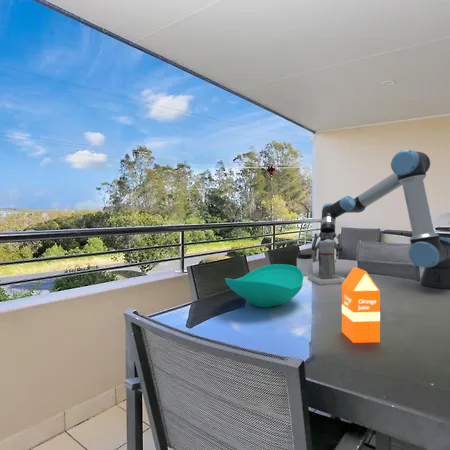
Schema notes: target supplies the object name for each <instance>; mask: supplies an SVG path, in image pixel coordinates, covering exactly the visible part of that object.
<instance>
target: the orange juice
mask: <svg viewBox="0 0 450 450" xmlns="http://www.w3.org/2000/svg"><path fill="white" fill-rule="evenodd" d="M380 298H381V291H380V289H379V288H378V287H377V284H375V282H374V281H373V279H372V278H371V277H370V275H369V273H368V272H367V271H366V270H364V269H361V268H359V267H357V266H353V267H352V269H351V270H350V272H349V273H348V275H347V277H346V278H345V281H344V282H343V284H341V332H342V334H343V335H345V336H346V338H348V339H349V340H350V341H351V342H352V343H354V344H355V343H380V342H381V337H380V336H381V331H380V330H381V299H380Z"/></svg>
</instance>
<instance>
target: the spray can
mask: <svg viewBox="0 0 450 450" xmlns="http://www.w3.org/2000/svg"><path fill="white" fill-rule="evenodd" d="M319 241H320V240H319ZM319 241H318V242H319ZM334 241H335V239H334V240H330V239H326V240H324V241H320V242H319V259H318V275H319V278H322V279H334V278H335V275H336V274H335V273H336V271H335V270H336V269H335V267H336V264H335V263H336V262H334V252H335V248H334Z"/></svg>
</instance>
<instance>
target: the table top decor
mask: <svg viewBox="0 0 450 450" xmlns="http://www.w3.org/2000/svg"><path fill="white" fill-rule="evenodd" d="M304 277H305V276H303V273H302V271H301V270H300V269H299V268H298V267H297V265H296V266H295V265H292V264H283V263H282V264H281V263H277V264H276V263H275V264H267V265H262V266H259V267H257V268H255V269H253V270H251V271H250V272H248V273H247V274H245V275H244V276H241V277H239V278H235V279H233V278H229V277H226V278H224V280H225V284H226V285H227V286H228V288H230V290H231V291H233V292H234V293H235V294H237V295H238V296H239V297H241V298H243V299H244V300H246V301H248V302H249V303H251V304H253V305H254V306H256V307H259V308H271V307H276V306H279V305H282V304H284V303H288V302H290V301H291V300H292V299H293V298H294V297H295V296H297V294H299V292H300V291H301V289H302V288H303V285H304Z"/></svg>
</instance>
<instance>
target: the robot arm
mask: <svg viewBox="0 0 450 450" xmlns="http://www.w3.org/2000/svg"><path fill="white" fill-rule="evenodd" d="M390 167H391V170H392V173H391V174H390V175H388V176H387V177H385V178H383V179H381V180H380V181H379V182H378V183H376V184H374V185H373V186H372V187H370V188H368V189H366V190H365V191H364V192H362V193H360V194H359V195H358V196H356V197H354V198H353V197H352V196H351V195H346V196H344V197H342V198H340V199H338V200H337V201H336V202H333V203H332V202H329V203H325V204H323V206H322V209H321V219H320V220H321V221H320V222H321V223H320V224H321V225H320V233H318V234H317V233H314V237H313V241H312V243H311V244H312V245H311V250H312V251H314V256H315V257H316V258H315V259H316V262H317V263H319V242H320V241H324V240H326V239H330V240H334V262H335V263H337V257H339V255H340V254H339V253H340V252H343V244H342V240H341V239H342V234H341V233H339V234H336V219H337V218H339V217H340V216H342V215H344V214H349V213H362V212H364V211H365V210H366V208H367V207H368V206H370V205H372V204H374V203H375V202H377V201H379V200H380V199H382V198H383V197H385V196H386V195H388V194H390V193H391V192H393V191H395V190H397V189H398V188H400V187H401V186H402V188H403V193H404V198H405V203H406V208H407V214H408V218H409V219H408V220H409V223H410V228H411V233H412V236H411V237H410V238H409V242H410V247H409V249H408V257H409V259H410V261H411V262H412V263H413V264H414V265H416V266H417V267H420V268H424V270H423V272H422V275H421V277H420V281H419V282H420V285H421V286H425V287H429V288H435V289H450V237H445V236H440V234H438V233H436V232H435V231H434V226H433V225H434V224H433V220H432V216H431V211H430V206H429V201H428V197H427V192H426V187H425V182H424V180H425V178H426V177H427V174H426V173H427V172H428V171H429V169H430V167H431V159H430V158H429V156H428V155H427V154H426V153H424V152H422V151H415V150H414V149H403V150H400V151H398V152H397V153H396V154H395V155H393V157H392V159H391V162H390ZM319 237H320V239H319ZM335 238H336V239H337V242H336V241H335ZM318 239H319V241H318ZM337 243H338V245H337Z"/></svg>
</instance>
